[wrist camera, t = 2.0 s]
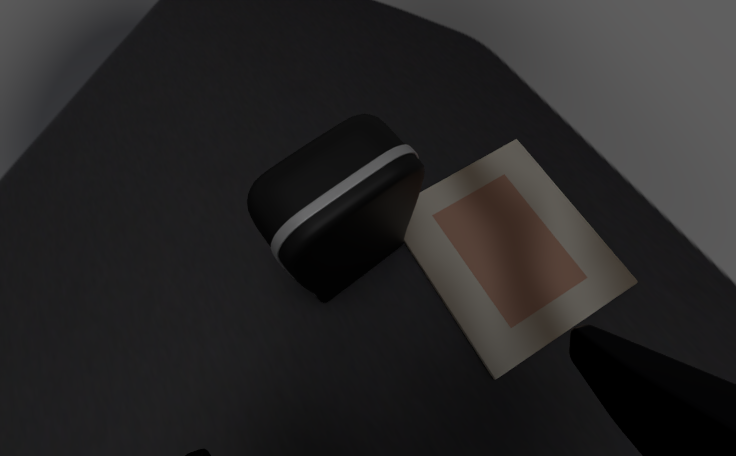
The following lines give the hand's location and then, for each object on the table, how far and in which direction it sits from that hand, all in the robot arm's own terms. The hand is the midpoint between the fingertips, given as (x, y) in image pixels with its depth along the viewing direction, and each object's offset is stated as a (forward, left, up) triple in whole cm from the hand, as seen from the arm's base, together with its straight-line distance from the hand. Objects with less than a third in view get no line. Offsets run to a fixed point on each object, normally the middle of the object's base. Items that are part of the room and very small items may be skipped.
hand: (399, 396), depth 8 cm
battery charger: (+2, +7, -13) cm, 15 cm away
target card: (+11, +2, -13) cm, 17 cm away
